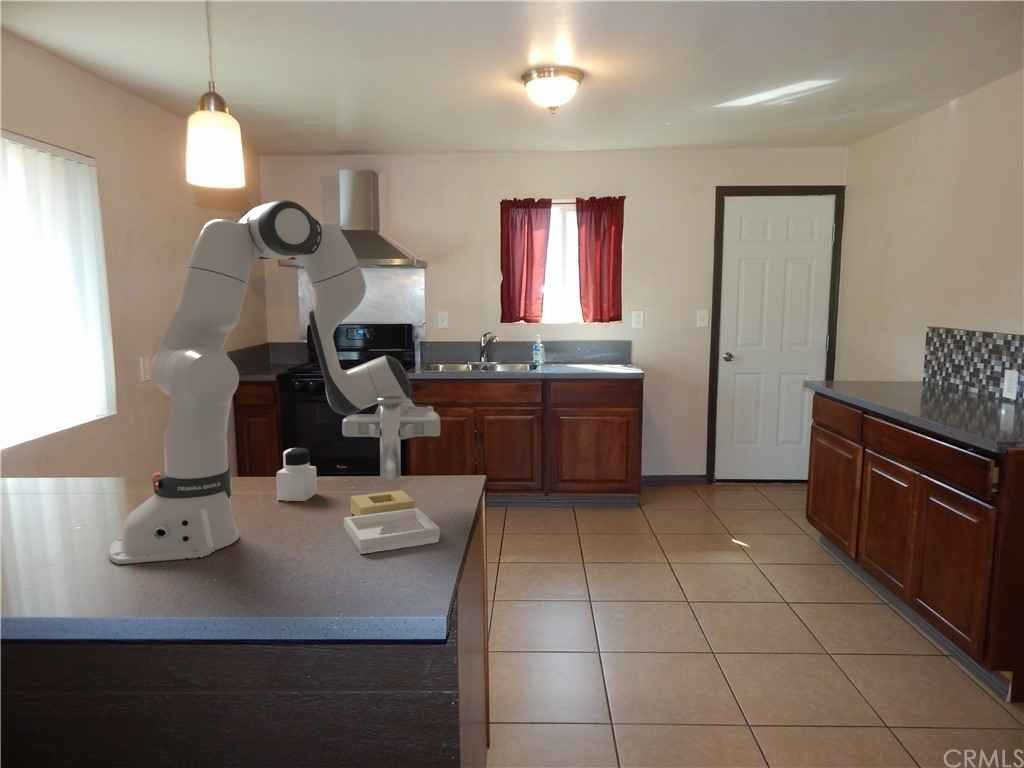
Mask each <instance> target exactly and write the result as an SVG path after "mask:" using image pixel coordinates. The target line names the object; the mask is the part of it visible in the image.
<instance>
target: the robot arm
mask: <svg viewBox="0 0 1024 768" xmlns="http://www.w3.org/2000/svg"><path fill="white" fill-rule="evenodd" d="M288 257H292V258H295V259H296V260H297V261H298V262H299V263H300V265H302V267H303V269H304V270H305V273H306V275H307V279H308V280H309V282H310V284H311V287H312V290H313V299H314V300H313V305H312V306H311V307H310V308H309V310H308V320H309V326H310V331H311V335H312V339H313V342H314V347H315V350H316V354H317V358H318V362H319V366H320V368H321V369H320V370H321V373H322V377H323V381H324V386H325V394H326V398H327V402H328V404H329V406H330V407H331V409H332V411H334V412H335V413H337V414H340V415H341V416H342V415H343V416H346V417H344V418H343V420H342V424H341V426H342V427H341V429H342V430H341V431H342V435H343V437H346V438H347V437H351V438H352V437H353V438H354V437H355V438H356V437H357V438H359V437H360V438H361V437H362V438H363V437H364V438H365V437H366V438H367V437H372V438H380V404H377V397H382V396H399V397H403V404H400V441H403V440H407V439H411V438H417V437H439V436H440V435H441V417H440V415H439V414H438V413H437V412H435V411H434V407H433V406H431V405H423V404H415V403H413V401H412V400H411V395H412V392H413V388H412V383H411V381H410V377H409V375H408V373H407V371H406V369H405V367H404V366H403V363H401V362H400V360H398V359H397V358H395V357H393V356H391V355H387V354H385V355H383V356H380V357H377V358H375V359H372V360H370V361H369V360H368V361H367V362H364V363H362V364H360V365H357V366H355V367H352V368H349V369H346V370H344V369H342V367H341V365H340V362H339V358H338V356H339V355H338V352H337V349H336V346H335V340H334V333H335V331H336V328H337V327H338V326H339V325H340V324H341V323H342V322H343V321H344V320H345V319H347V318H348V317H349V316H350V315H351V314H352V313H353V312H354V311H356V309H357V308H358V307H359V306H360V304H361V303H362V301H363V300H364V297H365V295H366V291H367V284H366V281H365V277H364V274H363V271H362V268H361V266H360V264H359V261H358V259H357V257H356V255H355V253H354V251H353V249H352V247H351V246H350V243H349V242H348V240H347V239H346V237H345V235H344V234H343V232H342V231H341V230H340V228H339V227H338V225H336V224H334V223H332V222H329V221H318V220H317V219H316V218H315V217H314V216H313V215H312V214H311V213H310V212H309V211H308V210H307V209H306V208H305V207H303V206H302V205H301V204H299V203H298V202H295V201H291V200H285V199H279V200H274V201H272V202H264V203H261V204H260V205H257V206H255V207H254V208H252V209H249V210H248V211H246V212H245V213H244V214H241V216H240V217H239V218H238V219H237V220H236V221H233V220H230V219H225V218H224V219H223V218H222V219H219V218H218V219H213V220H210V221H208V222H206V223H205V224H204V226H203V227H202V229H201V230H200V233H199V235H198V237H197V238H196V241H195V244H194V245H193V248H192V251H191V254H190V258H189V261H188V263H187V268H186V270H185V274H184V278H183V282H182V285H181V290H180V293H179V297H178V301H177V303H176V307H175V310H174V313H173V315H172V318H171V319H170V322H169V324H168V326H167V328H166V331H165V332H164V335H163V337H162V340H161V342H160V344H159V347H158V350H157V352H155V355H154V356H153V357H152V359H151V362H150V368H149V369H150V371H149V372H150V375H151V378H152V380H153V382H154V384H155V385H156V387H157V388H158V389H159V390H160V391H161V392H163V393H164V394H166V395H167V396H169V412H168V417H167V424H166V428H165V430H164V432H163V449H164V450H163V452H164V469H165V472H164V473H162V472H159V471H156V472H154V473H153V474H152V475H151V481H152V483H153V490H154V491H153V493H154V494H153V495H151V497H149V498H147V499H146V500H145V501H144V502H143V503H141V504H140V505H139V506H137V508H135V509H134V510H132V511H131V512H130V513H129V515H128V516H127V518H126V519H125V521H124V524H123V528H122V532H121V533H122V535H121V536H120V537H117V538H116V539H115V540H114V541H113V542H112V543H111V544H110V547H109V551H108V557H109V560H110V561H111V562H113V563H115V564H118V565H121V564H122V565H125V564H137V563H148V562H160V561H161V562H162V561H174V560H186V558H188V559H197V558H198V557H200V558H204V556H205V557H207V555H208V556H210V555H211V554H213V553H214V552H216V551H218V550H221V549H222V548H226V547H228V546H230V545H232V544H234V543H235V542H236V541H237V540H238V539H239V538H240V533H239V531H238V528H237V524H236V522H235V521H236V520H235V517H234V513H233V507H232V502H231V497H232V492H233V491H232V489H233V488H232V486H233V485H232V474H231V470H230V468H229V465H228V424H229V418H230V412H231V408H232V407H231V406H232V402H233V401H232V400H233V396H234V394H235V393H236V391H237V389H238V386H239V382H240V373H239V371H238V368H237V366H236V364H235V363H234V362H233V361H232V360H231V358H230V357H228V356H227V355H226V354H225V353H224V352H222V350H223V348H224V346H225V344H226V342H227V340H228V338H229V336H230V335H231V332H232V331H233V330H234V329H235V327H236V326H237V324H238V323H239V320H240V317H241V312H242V308H243V304H244V301H245V296H246V294H247V293H246V292H247V289H248V284H249V280H250V275H251V272H252V271H251V270H252V269H253V266H254V264H255V263H256V261H257V260H259V259H260V260H269V259H274V260H275V259H276V260H279V259H285V258H288ZM376 404H377V405H378V406H377V408H376V411H375V412H374V414H373V413H371V414H370V413H369V414H368V413H367V414H362V413H359V412H362V411H363V410H365V409H366V408H369V407H372V406H374V405H376ZM357 413H359V414H357ZM225 546H226V547H225ZM220 548H221V549H220ZM217 549H218V550H217ZM215 550H216V551H215ZM212 552H213V553H212ZM209 554H210V555H209ZM198 559H199V558H198Z"/></svg>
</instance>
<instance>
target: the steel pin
mask: <svg viewBox="0 0 1024 768" xmlns="http://www.w3.org/2000/svg"><path fill="white" fill-rule="evenodd" d="M379 404H380V437H379V448H380V449H379V453H380V454H379V456H380V457H379V462H380V463H379V465H380V467H379V469H380V470H379V471H380V472H379V473H380V474H379V477H380V478H383V479H387V480H388V479H392V480H393V479H397V478H398V479H399V478H400V477H401V440H400V404H403V397H399V396H382V397H377V405H379Z"/></svg>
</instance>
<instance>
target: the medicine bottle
mask: <svg viewBox="0 0 1024 768" xmlns="http://www.w3.org/2000/svg"><path fill="white" fill-rule="evenodd" d="M282 458H283V460H282V461H283V468H282V469H280V470H278V471H277V472H276V494H277V495H276V500H277V501H278V500H297V501H306V500H308V499H309V498H310V499H311V497H312V496H313V495H314V496H316V495H317V494H318V492H317V491H318V487H317V482H318V480H317V466H315V465H314V466H313V465H311V461H310V459H311V456H310V451H309V449H307V448H304V447H294V448H293V447H292V448H288V449H286V450H284V451H283V453H282ZM316 493H317V494H316ZM315 494H316V495H315ZM314 496H313V497H314ZM313 497H312V498H313ZM310 499H309V500H310ZM309 500H308V501H309ZM306 502H307V501H306Z"/></svg>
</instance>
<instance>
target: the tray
mask: <svg viewBox="0 0 1024 768" xmlns="http://www.w3.org/2000/svg"><path fill="white" fill-rule="evenodd" d="M410 518H415V519H416V520H417V521H418V522H420V523H421V524H422V525H423V526H424V527H425V528H426V529H419V530H412V531H406V532H399V533H392V534H385V535H381V534H380V531H381V530H380V529H382V528H383V526H384V525H383V524H385V523H387V522H393V521H398V520H403V519H410ZM385 525H386V524H385ZM344 529H345V531H346V532H347V533H348V535H349V536H350V538H351V539H352V540H353V542H354V543H355V544H356V545H357V547H358V548H359V549H360V551H363V550H368V549H372V548H377V547H381V546H386V545H391V544H397V543H401V542H406V541H413V540H418V539H424V538H430V537H436V536H440V537H441V527H439V526H438V525H437V524H436V523H435V522H433V521H432V519H430V518H429V517H428V516H427V515H426V514H424V512H422V510H420V509H419V508H418V507H414V509H406V510H398V511H391V512H383V513H376V514H368V515H361V516H345V517H343V530H344ZM381 532H382V531H381ZM379 534H380V535H379Z"/></svg>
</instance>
